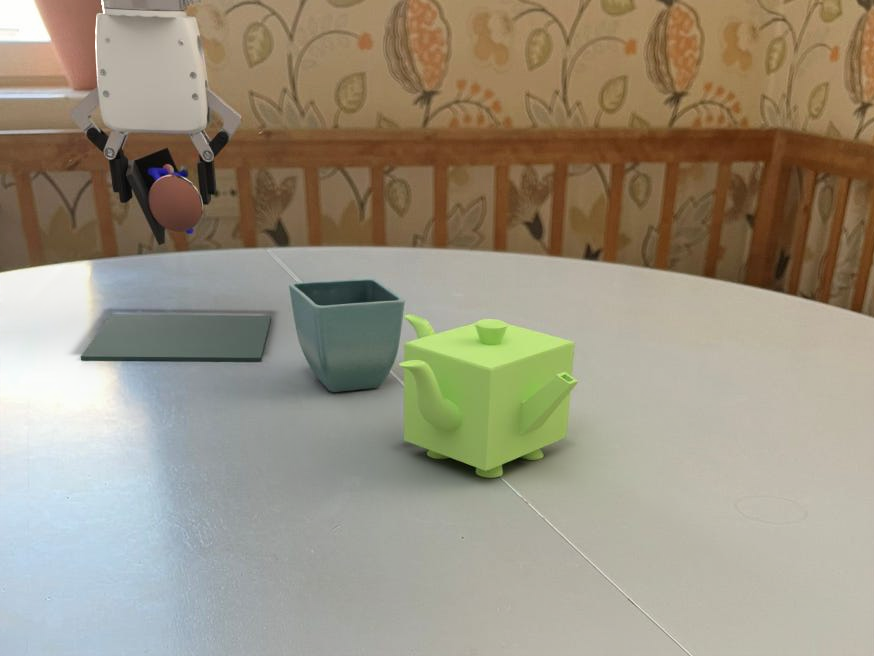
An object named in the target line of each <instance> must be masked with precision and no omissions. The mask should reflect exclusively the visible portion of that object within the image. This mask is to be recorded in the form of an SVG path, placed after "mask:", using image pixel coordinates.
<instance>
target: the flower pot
mask: <svg viewBox="0 0 874 656" xmlns="http://www.w3.org/2000/svg"><path fill="white" fill-rule="evenodd" d="M288 288H289V295H290V302H291V307H292V313H293V314H292V315H293V321H294V327H295V331H296V336H297V339H298V343H299V346H300V348H301V352H302V354H303V356H304V358H305V360H306V362H307V364H308V366H309V367H310V369H311V371H312V373H313V374H314V376H315V377H316V379H318V381H320V382H321V383H322V385H324V386H325V388H326V389H327V390H328V391H330V392H332V393H341V392H348V391H356V390H367V389H376V388H379V387H381V385H382V384H383V383H384V381H385V380H386V379H387V377H388V375H389V373H390V372H391V370H392V368H393V366H394V363H395V361H396V359H397V355H398V351H399V347H400V341H401V333H402V327H403V318H404V310H405V302H406V299H405V298H404V297H402V296H401V295H399V294H398V293H396V292H394V291H393V290H391V288H389V287H387V286H386V285H384V283H381V282H380V281H379V280H377V279H375V278H357V279H356V278H355V279H340V280H339V279H338V280H324V281H323V280H322V281H321V280H320V281H303V282H302V281H301V282H292V283H288Z"/></svg>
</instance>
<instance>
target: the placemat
mask: <svg viewBox="0 0 874 656" xmlns="http://www.w3.org/2000/svg"><path fill="white" fill-rule="evenodd" d="M271 322H272V315H241V314H239V315H237V314H236V315H233V314H232V315H230V314H226V315H225V314H222V315H221V314H154V313H153V314H151V313H149V314H146V313H143V314H141V313H139V314H137V313H134V314H133V313H110V315H109V316H108V318H107V319H106V320H105V322H104V323H103V324H102V326H101V327H100V329H99V330H98V332H97V333H96V335H95V336H94V337H93V339H92V340H91V342H90V343H89V344H88V346H87V347H86V349H85V350H84V351H83V352H82V353H81V355H80V361H129V362H131V361H134V362H136V361H137V362H138V361H140V362H142V361H143V362H145V361H148V362H149V361H151V362H155V361H156V362H164V361H165V362H262V359H263V356H264V351H265V347H266V342H267V339H268V335H269V330H270V327H271Z"/></svg>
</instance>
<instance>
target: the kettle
mask: <svg viewBox="0 0 874 656" xmlns="http://www.w3.org/2000/svg"><path fill="white" fill-rule="evenodd" d="M403 318H405V320H406V321H407V322H408V323H409V324H410V325H411V326H412V327H413V329H414V331H415V333H416V336H417V338H416V339H413V340H410V341H406V342H405V343H404V344H403V361H402V362H400V363H398V365H399V367H401V368H403V440H404V441H405V442H407V443H409V444H412V445H415V446H418V447H421V448H423V449H426V450H428V451H427V452H426V455H427V457H429V458H432V459H436V460H445V459H450V458H451V459H453V460H456V461H459V462H461V463H464V464H467V465H469V466H472V467H474V468H475V474H476V475H477V476H480V477H483V478H488V479H489V478H490V479H491V478H492V479H493V478H498V477H502V475H503V473H504V471H503V465H504V464H506V463H509V462H512V461H513V460H514V461H515V460H516V459H518V458H521V459H524V460H529V461H530V460H531V461H534V460H540V459H543V458H544V453H543V452H542V450H541V449H542V448H544V447H547V446H549V445H551V444H553V443H557V442H559V441H560V440H561V441H562V440H563V439H565V438H567V435H568V423H569V411H570V402H571V401H570V400H571V392H572V390H573V389H574V388H575V387H576V386H577V384H578V382H579V380H578V379H576V378H575V377H574V376H573V367H574V356H575V355H574V354H575V346H576V345H575V344H576V343H575V342H574V341H572V340H569V339H566V338H562V337H558V336H555V335H550V334H547V333H544V332H539V331H535V330H532V329H529V328H526V327H521V326H518V325H513V324H510V323H507V322H506V321H503V320H501V319H495V318H485V319H484V318H483V319H480V320H477V321H476V322H473V323H470V324H467V325H464V326H463V325H462V326H459V327H456V328H452V329H448V330H445V331H441V332H438V333H436V332H435V330H434V328H433V327H432V325H431V324H430V321H428V320H427V319H425V318H423V317H421V316H419V315H415V314H403Z"/></svg>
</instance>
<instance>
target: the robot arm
mask: <svg viewBox="0 0 874 656" xmlns="http://www.w3.org/2000/svg"><path fill="white" fill-rule="evenodd" d="M194 3H202V0H101V5H102V12H99V13H96V16H95V17H96V19H95V64H96V77H97V78H96V82H97V86H96V87H94V88H93V89H92V90H91V91H90V92H89V93H88V94H87V95H85V97H84V98H83V99H82V100H81V101H79V103H77V104H76V105H75V106H74V107H73V108H72V109H71V110H70V111H69V117H70V119H71V120H72V121H73V122H74V123H75V125H76V126H78V128H79V129H80V130H81V132H83V133H84V134H85V136H86V137H87V139H88V141H90V142H91V143H92V144H93V145H94V146H95V147H96V148H97V149H98V150H99V151H100V152H102V153H103V155H104V157H105V158H106V159H107V160H108V163H109V171H110V177H111V185H112V191H113V193H118V194H119V195H118V196H119V202H120V203H121V204H127V203H128V202H130V201H131V199H133V195H134V194H133V190H132V188H131V186H130V184H129V182H128V180H127V177H126V173H127V169H128V164H129V158H128V157H127V155H125V152H124V150H123V149H124V146H125V144H126V141H127V139H128V137H129V136H128V135H129V134H130V133H136V134H170V135H172V134H174V135H187V136H188V137H189V139H190V140H191V142H192V144H193V146H194V147H195V149H196V150H197V152H198V154H199V155H198V157H199V158H198V159H199V160H198V162H196V168H197V169H196V170H197V179H198V188H199V190H198V191H199V193H200V195H201V198H202V202H203V206H209V205H210V203H211V202H212V196H215V195H217V179H216V168H215V158H216V157H217V156H218V155H219V153H220V152H221V151H222V150H223V149H224V148H225V147H226V145H228V143H229V141H230V140H231V138H232V137H233V136H234V134H235V133H236V131H237V130H238V128H239V127H240V125H241V124H242V122H243V117H242V115H241V114H240V113H239V112H238V111H237V110H235V109H234V108H233V107H232V106H230V104H228V103H227V102H226V101H225V100H223V99H222V98H221V97H220V96H219V95H217V94H216V93H215V91H213V90H211V88H210V87H209V80H208V79H209V78H208V72H207V66H206V59H205V53H204V47H203V42H202V38H201V33H200V28H199V25H198V22H197V18H196V16H188V15H187V13H188V12H187V10H188V7H189V6H190V5H191V4H192V5H193V4H194ZM97 108H99V110H100V115H101V119H102V122H103V124H104V125H105V126H106V127H107V128H108V129H111V130H110V133H109V135H108V134H107V133H106V132H104V130H103V129H102V128H100V127H99V126H98V125H97V124H96V123H95V121H94V120H93V118H92V113H93V112H94V111H96V109H97ZM212 111H213V112H214V113H215V114H217V115H218V116H219V117H220V118H221V119H222V121H223V123H222V126H221V127H220V129H219V131H217V132H218V133H216V135H214V137H213V138H212V139H211V138H210V137H209V135H208V134H207V132H206V130H205V129H206V128H207V127H208V126H209V125H210V124H211V123H212Z"/></svg>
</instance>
